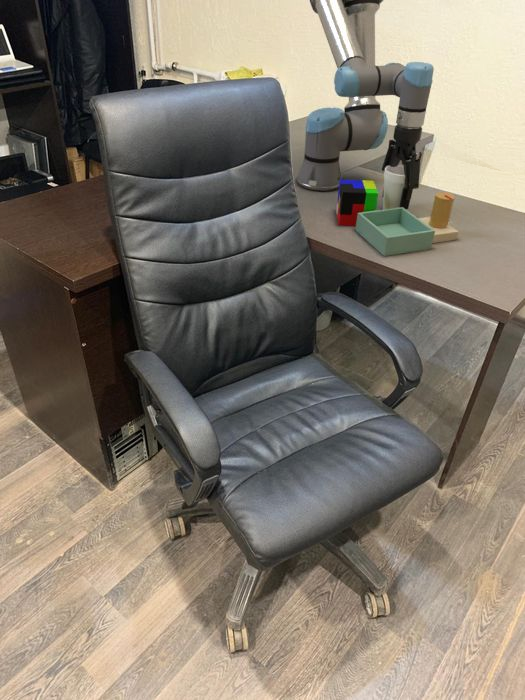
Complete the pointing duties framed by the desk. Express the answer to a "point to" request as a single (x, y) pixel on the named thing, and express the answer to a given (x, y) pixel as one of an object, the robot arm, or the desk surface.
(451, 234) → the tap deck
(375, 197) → the puzzle toy
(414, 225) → the basin
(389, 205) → the foam cup
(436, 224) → the tap handle
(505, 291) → the desk surface
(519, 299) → the desk surface
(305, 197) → the desk surface
